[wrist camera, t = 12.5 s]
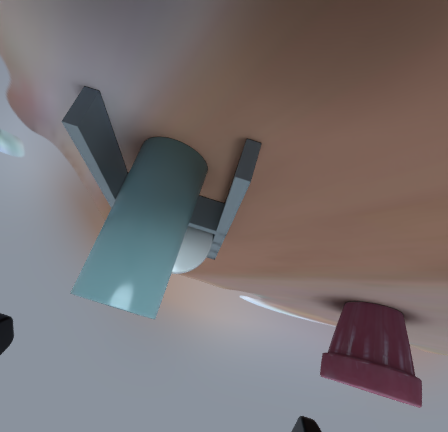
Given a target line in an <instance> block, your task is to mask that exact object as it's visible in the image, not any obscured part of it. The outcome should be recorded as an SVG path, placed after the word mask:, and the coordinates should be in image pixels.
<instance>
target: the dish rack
mask: <svg viewBox="0 0 448 432" xmlns="http://www.w3.org/2000/svg"><path fill="white" fill-rule="evenodd" d="M62 123H63V125H64V126H65V128H66V130H67V132H68V133H69V135H70V137H71V138H72V140H73V142H74V144H75V145H76V147H77V149H78V151H79V152H80V154H81V156H82V158H83V159H84V161H85V163H86V165H87V166H88V168H89V170H90V171H91V173H92V175H93V177H94V178H95V180H96V182H97V184H98V185H99V187H100V189H101V191H102V192H103V194H104V196H105V198H106V199H107V201H108V203H109V204H110V206H111V208H112V207H113V204H114V202H115V200H116V198H117V196H118V194H119V192H120V190H121V188H122V186H123V184H124V182H125V180H126V178H127V176H128V174H129V173H127V170H126V167H125V164H124V161H123V158H122V155H121V152H120V149H119V146H118V144H117V141H116V138H115V135H114V132H113V129H112V126H111V123H110V120H109V118H108V115H107V112H106V109H105V106H104V103H103V100H102V97H101V94H100V91H97V90H94V89H91V88H88V87H85V86H84V88H83V89H82V91H81V92H80V94H79V95H78V97H77V99H76V100H75V102H74V103H73V105H72V106H71V108H70V109H69V111H68V112H67V114H66V115H65V117H64V119H63V120H62ZM260 147H261V143H259V142H256V141H252V140H249V139H247V140H246V143H245V146H244V149H243V152H242V155H241V158H240V161H239V163H238V166H237V169H236V172H235V175H234V178H233V181H232V184H231V187H230V190H229V193H228V196H227V199H226V202H225V204H224V203H221V202H217V201H214V200H211V199H208V198H205V197H202V196H199V197H198V200H197V203H196V205H195V208H194V211H193V214H192V217H191V219H190V222H189V225H188V226H190V227H193V228H196V229H199V230H203V231H206V232H209V233H212V234H213V240H212V245H211V248H210V251H209V254H208V255H207V257H208V258H211V259H214V260H215V258H216V256H217V253H218V251H219V249H220V247H221V245H222V243H223V241H224V238H225V236H226V234H227V232H228V230H229V228H230V225H231V223H232V221H233V219H234V217H235V215H236V212H237V210H238V208H239V206H240V204H241V202H242V199H243V197H244V195H245V193H246V191H247V189H248V186H249V184H250V182H251V179H252V175H253V172H254V168H255V165H256V161H257V158H258V154H259V150H260Z"/></svg>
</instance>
